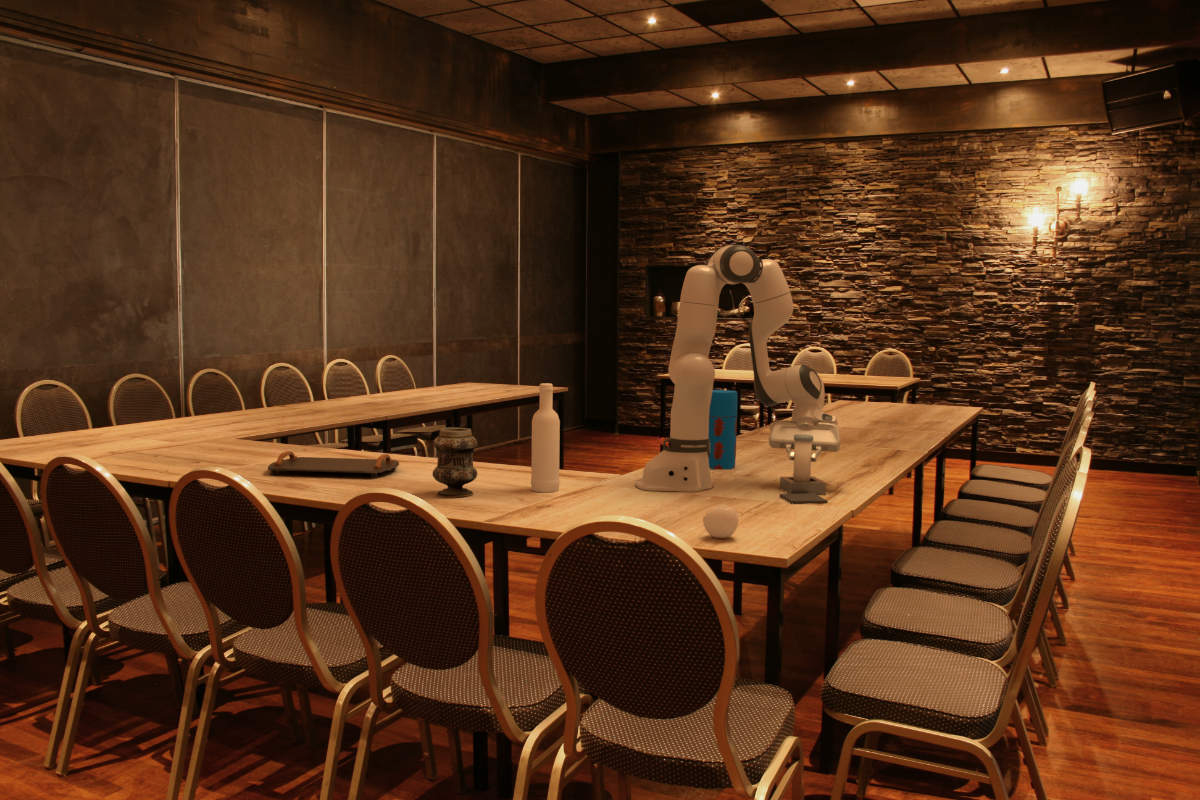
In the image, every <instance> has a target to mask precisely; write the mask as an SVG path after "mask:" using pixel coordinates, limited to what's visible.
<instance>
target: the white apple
mask: <svg viewBox="0 0 1200 800" xmlns="http://www.w3.org/2000/svg"><path fill="white" fill-rule="evenodd" d="M702 524H703V527H704V529H705V530H706V532H707V533H708V534H709V535H710V536H712V537H713V538H716V539H727V538H730V537H731V536H733V534H734V533H735V531H736V530H737V528H738V524H739V515H738V513H737V510H736V509H735V508H734V507H733V506H728V505H726V504H716V505H715V506H714V507H712V508H710V509H709V510H707V512H705V515H704V516H703V517H702Z"/></svg>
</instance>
